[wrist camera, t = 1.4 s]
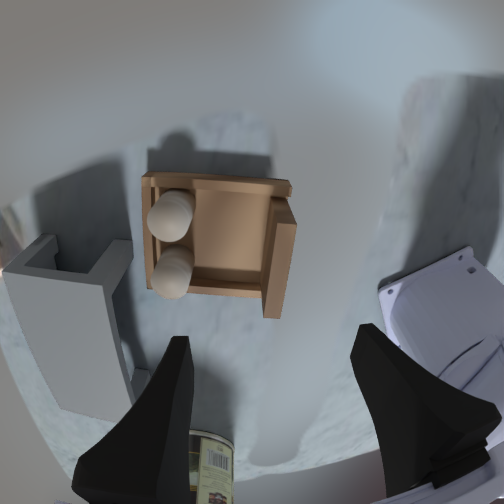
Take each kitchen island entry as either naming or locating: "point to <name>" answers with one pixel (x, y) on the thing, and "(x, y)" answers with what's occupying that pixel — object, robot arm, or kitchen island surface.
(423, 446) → the robot arm
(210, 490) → the coffee can
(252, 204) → the tray
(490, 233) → the kitchen island surface
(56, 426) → the kitchen island surface
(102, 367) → the shelf
